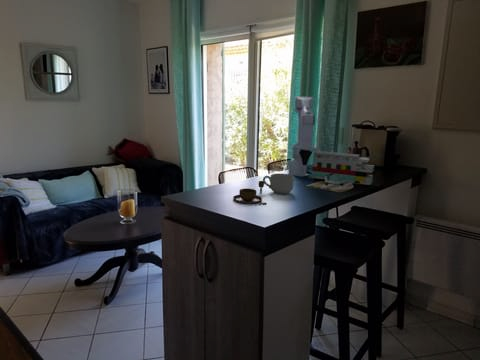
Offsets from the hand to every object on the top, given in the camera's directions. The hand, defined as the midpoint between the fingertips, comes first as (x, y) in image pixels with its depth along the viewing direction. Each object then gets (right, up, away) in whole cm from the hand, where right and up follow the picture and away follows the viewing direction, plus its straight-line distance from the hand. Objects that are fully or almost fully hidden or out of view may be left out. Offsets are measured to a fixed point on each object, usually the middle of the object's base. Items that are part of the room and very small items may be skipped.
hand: (304, 165), depth 180 cm
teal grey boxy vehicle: (+13, -10, -7) cm, 18 cm away
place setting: (-27, -16, -32) cm, 45 cm away
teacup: (-16, -14, -20) cm, 29 cm away
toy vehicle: (+21, -9, +7) cm, 24 cm away
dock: (+11, -12, -5) cm, 17 cm away
